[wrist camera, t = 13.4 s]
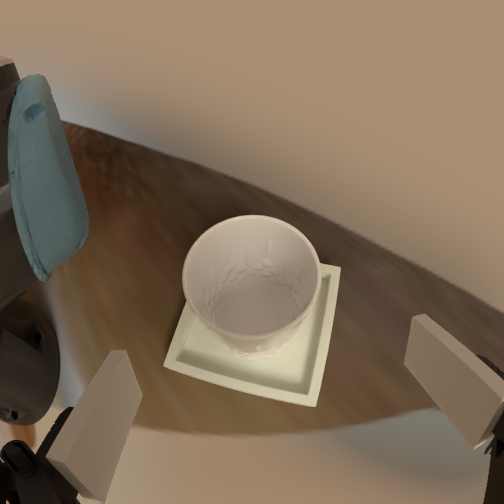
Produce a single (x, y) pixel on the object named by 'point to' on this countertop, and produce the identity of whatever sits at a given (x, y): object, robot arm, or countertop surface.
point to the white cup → (252, 283)
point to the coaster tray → (268, 369)
